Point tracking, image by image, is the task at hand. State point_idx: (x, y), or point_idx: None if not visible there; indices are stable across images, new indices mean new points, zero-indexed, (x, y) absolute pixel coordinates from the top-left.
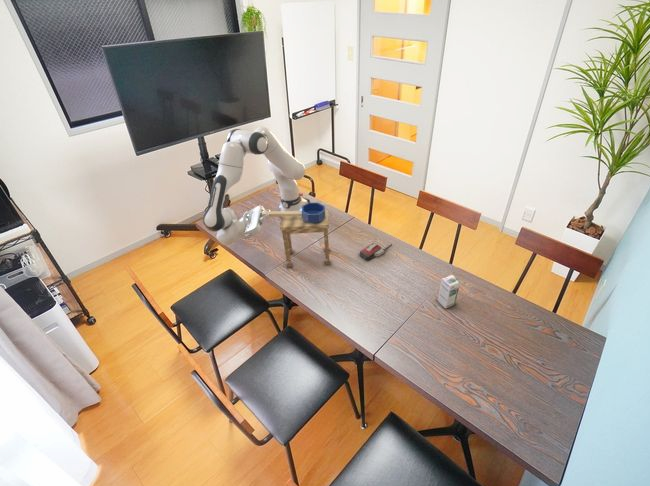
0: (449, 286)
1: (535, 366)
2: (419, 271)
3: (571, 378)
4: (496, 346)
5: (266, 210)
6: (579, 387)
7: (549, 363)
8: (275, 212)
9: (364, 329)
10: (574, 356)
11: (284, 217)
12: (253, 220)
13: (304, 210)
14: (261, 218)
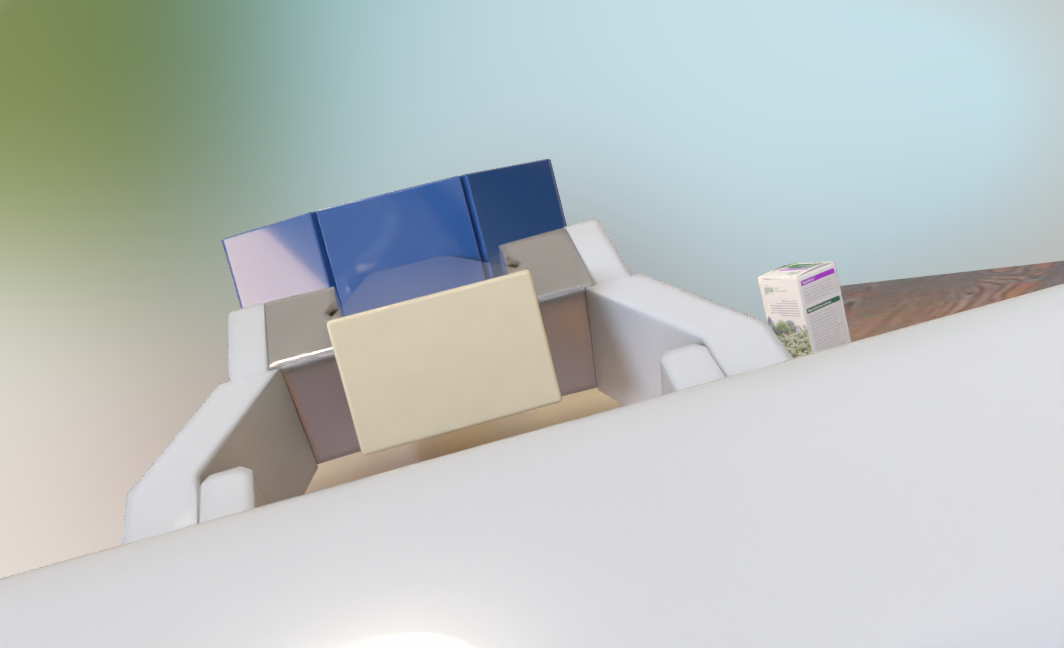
0: (833, 268)
1: (990, 294)
2: None
3: (983, 276)
4: None
5: (270, 337)
6: (1003, 269)
7: (959, 291)
8: (414, 278)
9: None
10: (902, 287)
11: (392, 463)
12: (840, 595)
13: None
14: (729, 318)
